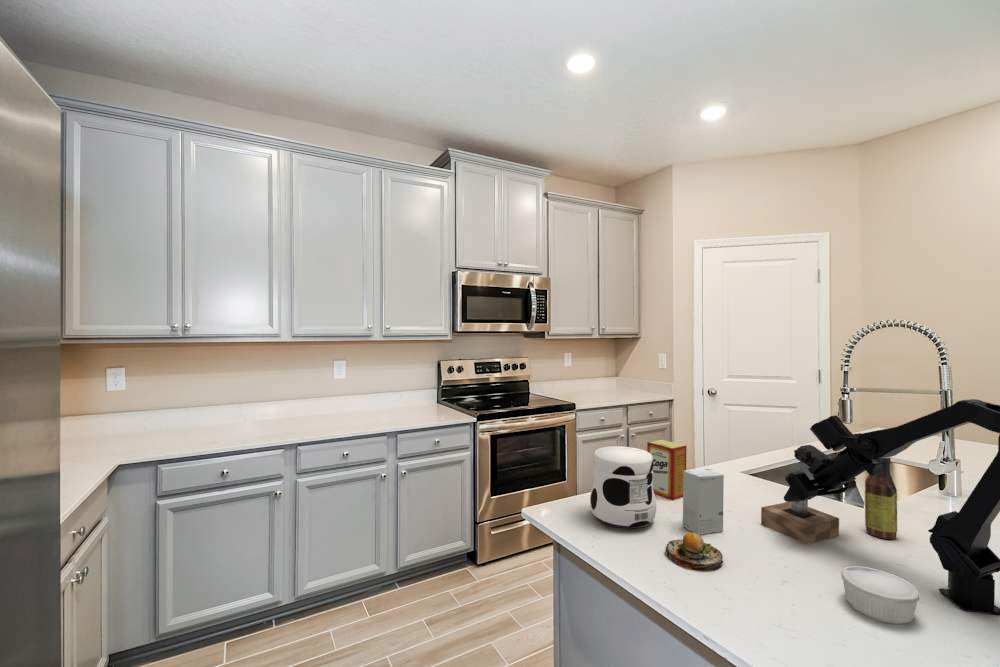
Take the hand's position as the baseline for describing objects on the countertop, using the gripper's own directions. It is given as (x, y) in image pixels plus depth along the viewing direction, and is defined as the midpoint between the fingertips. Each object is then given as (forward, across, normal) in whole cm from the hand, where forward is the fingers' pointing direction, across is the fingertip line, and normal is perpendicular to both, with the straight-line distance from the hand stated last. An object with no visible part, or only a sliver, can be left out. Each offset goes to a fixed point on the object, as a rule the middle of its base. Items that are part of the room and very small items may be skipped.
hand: (797, 497), depth 117 cm
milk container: (+21, +38, -9) cm, 45 cm away
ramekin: (-14, +18, +26) cm, 34 cm away
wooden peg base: (+6, 0, +6) cm, 8 cm away
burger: (+6, +36, +7) cm, 37 cm away
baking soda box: (+29, +14, -17) cm, 36 cm away
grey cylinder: (+6, 0, +6) cm, 8 cm away
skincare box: (+12, +22, -1) cm, 26 cm away
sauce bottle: (-1, -17, +13) cm, 21 cm away
